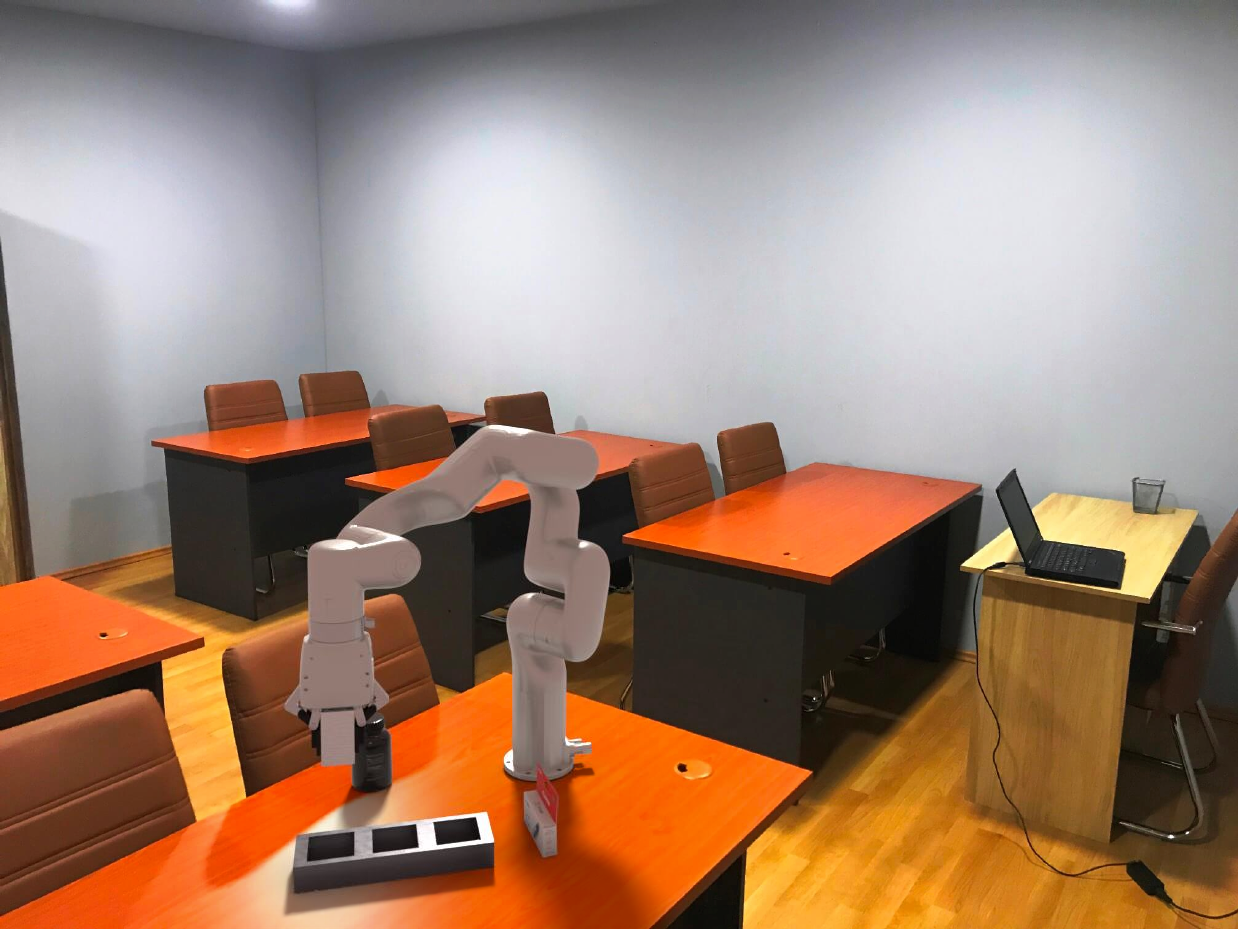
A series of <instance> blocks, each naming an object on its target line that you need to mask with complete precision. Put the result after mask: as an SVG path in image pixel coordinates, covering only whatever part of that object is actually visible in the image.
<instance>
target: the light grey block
mask: <svg viewBox="0 0 1238 929" xmlns="http://www.w3.org/2000/svg"><path fill="white" fill-rule="evenodd" d="M320 719H321V755H320V757H321V759H320V761H321V762H320V763H321V767H323V768H324V767H335V766H344V765H351V764H355V746H354V720H355V713H354V708H353V707H348V708H334V709H322V710H321V715H320Z"/></svg>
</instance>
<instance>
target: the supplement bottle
mask: <svg viewBox="0 0 1238 929" xmlns="http://www.w3.org/2000/svg"><path fill="white" fill-rule="evenodd" d="M385 721H386V719H385V715H384V714H383V713H380V712H377V711H376V713H375V714H374V715H373V716H372V717H371V718H370V719H369V720H368V721H367V722H366V724H365V725H364V744H360V745H359V753H355V764H350V768H351V785H352V787H353V788H354V789H355V790H357V791H358V792H363V793H372V792H379V791H381V790H384V789H386V788H388V786H390V785H391V784H392V782H393V753H392V751H393V750H392V747H393V746H392V735H391V733H390V731H389V730H388V728H386V723H385Z"/></svg>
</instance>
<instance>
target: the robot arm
mask: <svg viewBox="0 0 1238 929" xmlns="http://www.w3.org/2000/svg"><path fill="white" fill-rule="evenodd" d="M599 467H600V457H599V454H598V452H597V449H596V448H595V446H594V445H593V444H592V443H591V442H589V441H588V440H586V439H583V438H578V437H573V436H572V437H571V436H566V435H558V434H553V433H547V432H543V431H542V432H541V431H537V430H533V429H528V428H520V427H513V426H507V425H500V424H499V425H498V424H490V425H486V426H483V427H481V428H479V429H478V430H477V431H476V432H475V433H473V434H472V435H471V436H470V437H469V438H468V439H467V440H465V441H464V443H462V444H461V445H460V446H459V447H457V449H456V450H455V451H453V452H452V453H451V454H450V455H449V456H448V457H447V458H446V459H445V460H443V462H441V463H440V464H439V465H438V466H437V467H436V468H435V469H433V471H431V472H430V473H429V474H427V475H426V476H425V477H423V478H421V479H419V480H416V481H413V482H410V483H409V484H407V485H405V486H402V487H400V488H398V489H396V490H393V491H391V492H389V493H387V494H385V495H383V496H381V497H379V498H377V499H375V500H374V501H373V502H371V503H369V504H368V505H367V506H366V507H365V508H363V510H361V511H360V512H359V513H358V514H356V515H355V517H354V518H352V520H350V521H349V522H348V523H347V524H346V525H345V526H344V527H343V528H342V529H341V531H340V532H339V533H338V536H337V537H336V538H335V539H327V540H322V541H321V540H320V541H318V542H315V543H313V544H312V545H311V546H310V548H309V549H308V552H307V594H308V596H307V599H308V600H307V601H308V603H307V605H308V610H307V611H308V614H307V615H308V634H307V635H305V636H304V637H303V639H302V647H301V653H300V664H299V665H300V667H299V684H298V685H297V687H296V688H294V690H293V691H292V693H291V695H290V696H289V697H288V698H287V699H286V701H285V703H284V707H283V708H284V710H285V711H286V712H289V713H290V714H292V715H294V716H296V717H297V718H298V719H299V720H300V721H302V722H303V723H304V724H306V725H307V726H308V729H309V730H310V731H311V732H310V733H311V734H310V735H311V736H310V737H311V738H310V739H311V741H310V742H311V749H316V757H321V710H322V709H334V708H348V707H353V708H354V746H355V753H359V745H360V744H364V725H365V724H366V722H367V721H368V720H369V719H370V718H371V717H372V716H373V715H374V714H375V713H376V712H377V711H379V710H380V709H382V708H383V707H384V706H386V705H387V704H388V703H389V702H390V697H389V696H390V695H389V694H388V693H387V692H386V691H385V689H384V688H383V687H382V686H381V684H380V683H379V682H378V681H377V679H376V678H375V663H374V653H373V645H372V639H371V635H370V633H369V632H367V630H370V629H375V628H376V627H375V626H376V624H375V623H376V621H375V618H370V617H367V615H365V591H367V590H375V589H376V590H379V589H380V590H382V589H384V590H385V589H393V588H394V589H395V588H399V587H402V586H404V585H407V584H408V583H409V582H411V581H412V580H413V579H414V578H415V577H416V576H417V575H418V573H419V571H420V569H421V564H422V557H421V553H420V550H419V549H418V547H417V546H416V544H414V543H413V542H412V541H411V540H410V539H407V538H405V537H402V535H404V534H406V533H409V532H410V531H412V530H416V529H418V528H422V527H427V526H432V525H439V524H445V523H446V524H447V523H450V522H454V521H457V520H460V519H463V518H465V517H466V516H467V515H468V514H470V513H471V512H472V511H473V510H474V509H475V507H476V506H478V505H479V504H480V503H481V501H483V499H485V497H487V496H488V495H489V494H490V493H491V492H492V491H493V490H494V489H495V488H496V487H497V486H498V485H499V484H500V483H502V482H503V481H510V482H516V483H519V484H524V486H525V488H526V489H527V492H528V495H529V498H530V518H529V526H528V532H527V538H526V539H527V540H526V546H525V552H524V560H523V571H524V574H525V577H526V578H527V580H529V582H531V583H533V584H535V585H537V586H539V587H542V588H545V589H548V590H553V591H556V592H559V593H563V594H564V599H562V598H558V597H555V596H551V595H548V594H544V593H539V592H529V593H524V594H522V595H519V596H518V597H517V598H516V599H515V600H514V601H513V602H512V603H511V604H510V606H509V608H508V611H507V614H506V633H507V637H508V642H509V647H510V653H511V665H512V666H511V667H512V672H511V674H512V675H511V676H512V678H511V679H512V680H511V682H512V683H511V685H512V686H511V687H512V689H511V690H512V691H511V692H512V693H511V694H512V696H511V697H512V702H511V703H512V706H511V707H512V708H511V709H512V712H511V713H512V715H511V716H512V717H511V718H512V719H511V720H512V721H511V722H512V723H511V724H512V725H511V726H512V729H511V730H512V731H511V733H512V734H511V736H512V737H511V740H512V741H511V744H512V747H511V750H509V751H508V752H507V753H506V754H505V755H504V757H503V763H502V764H503V769H504V770H505V772H507V774H509V775H510V776H512V777H514V778H516V779H519V780H522V781H528V782H537V763H538V764H539V765H540V767H541V768H542V770H543V772H544V773H545V775H546V776H547V778H548V779H549V781H551V780H556V779H559V778H561V777H564V776H566V775H567V774H569V772H571V771H572V770H573V768H574V766H573V765H575V758H574V757H575V756H576V755H588V754H592V752H593V747H592V743H591V742H583V739H582V738H574V739H569V738H567V736H566V734H567V731H566V730H567V728H566V727H567V726H566V725H567V668H566V663H565V661H569V662H574V663H579V662H584V661H586V660H588V659H589V658H590V657H592V655H594V653H595V652H596V649H597V648H598V646H599V644H600V641H601V636H602V631H603V626H604V618H605V613H606V605H607V600H608V595H609V587H610V578H611V567H610V561H609V558H608V555H607V553H606V552H605V550H604V549H603V548H602V547H601V546H600V545H599V544H596V543H594V542H591V541H588V540H583V539H579V537H578V536H579V534H578V531H579V523H580V513H581V512H580V509H581V508H580V500H579V496H578V493H577V490H582V489H584V488H586V487H588V486H589V485H590V484H591V483H592V482H593V481H594V480H595V478H596V477H597V474H598V472H599ZM374 697H375V699H374Z"/></svg>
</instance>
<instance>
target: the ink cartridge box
mask: <svg viewBox="0 0 1238 929" xmlns="http://www.w3.org/2000/svg"><path fill="white" fill-rule="evenodd" d="M545 783H546V784H547V787H548V789H547V788H546V785H545ZM558 808H559V794H558V792H557V790H556V789H555V787H554V786H553V785H552V783H551V780H549V779H548V778H547V776H546V775H545V773H544V772H543V770H542V768H541V767H540V765H539V764H538V763H537V781H536V789H534V790H528V791H524V792H523V818H524V819H523V821H524V822H525V825H526V827H527V829H528V831H529V833H530V835H531V837H532V839H533V841H534V843H535V844H536V847H537V848H538V851H539V852H540V855H541V857H542V858H548V857H552V856H557V854H558V839H557V838H558V835H557V834H558V833H557V832H558V830H557V828H558V827H557V819H558V810H559V809H558Z"/></svg>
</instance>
